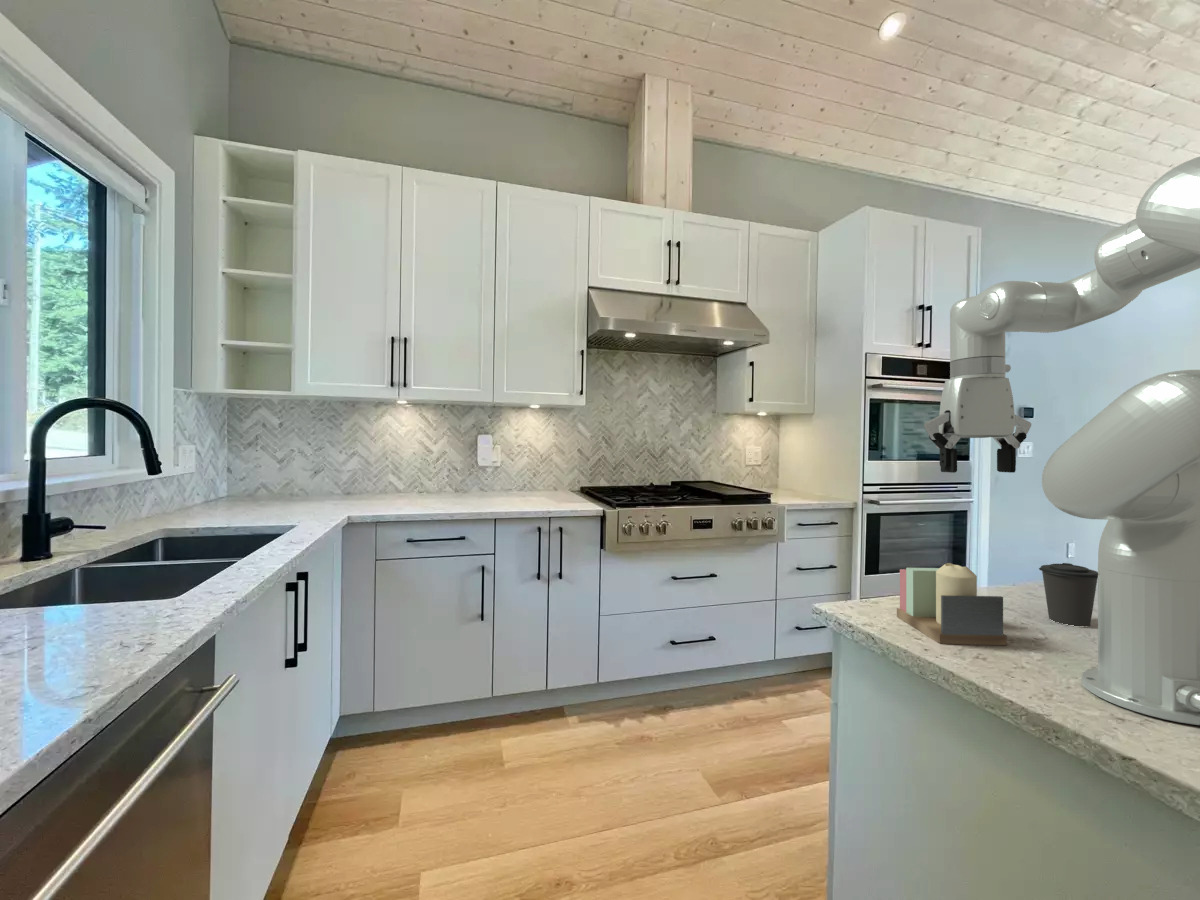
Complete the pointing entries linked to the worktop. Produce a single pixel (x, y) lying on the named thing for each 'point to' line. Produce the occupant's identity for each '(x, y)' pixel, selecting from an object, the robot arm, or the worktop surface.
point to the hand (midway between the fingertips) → (977, 472)
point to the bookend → (972, 615)
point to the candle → (954, 584)
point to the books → (918, 591)
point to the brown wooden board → (934, 632)
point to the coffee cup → (1069, 593)
